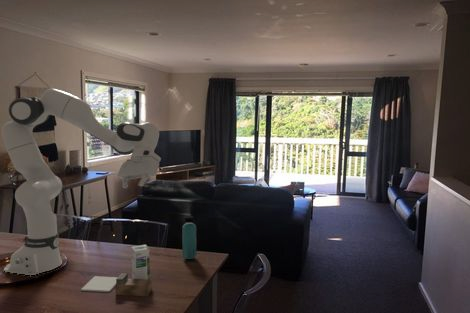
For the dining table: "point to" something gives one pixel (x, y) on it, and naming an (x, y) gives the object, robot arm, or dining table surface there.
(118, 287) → the brown wooden block
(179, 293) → the dining table surface
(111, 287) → the felt pad
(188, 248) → the beverage bottle
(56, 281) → the dining table surface
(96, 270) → the dining table surface
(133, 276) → the syrup box
